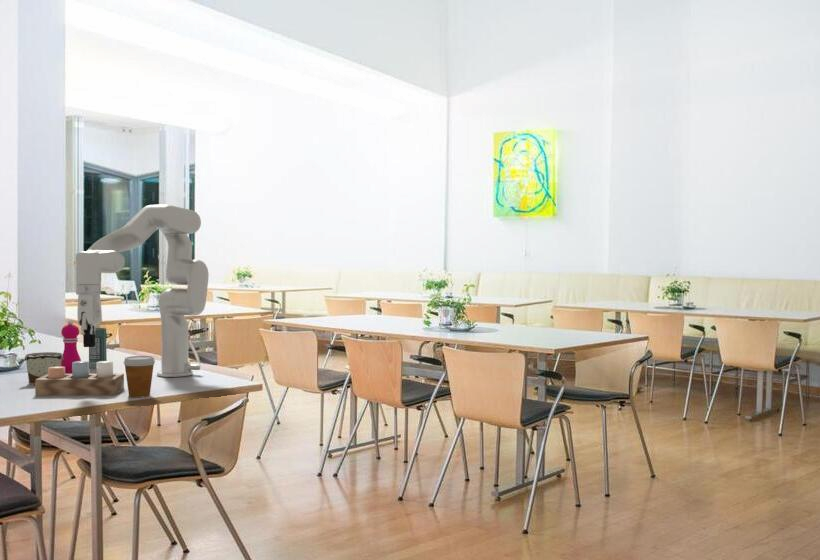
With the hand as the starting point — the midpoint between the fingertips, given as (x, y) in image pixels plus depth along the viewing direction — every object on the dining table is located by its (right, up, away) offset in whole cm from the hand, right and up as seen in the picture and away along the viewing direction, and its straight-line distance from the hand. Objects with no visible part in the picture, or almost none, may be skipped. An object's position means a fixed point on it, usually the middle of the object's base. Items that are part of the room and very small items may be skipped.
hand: (89, 346), depth 265 cm
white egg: (+5, -11, +1) cm, 12 cm away
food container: (-22, -14, +18) cm, 32 cm away
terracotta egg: (-10, -13, -1) cm, 17 cm away
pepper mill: (-20, -13, +34) cm, 41 cm away
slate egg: (-3, -11, 0) cm, 12 cm away
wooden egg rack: (-3, -15, 0) cm, 15 cm away
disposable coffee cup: (+18, -15, -5) cm, 24 cm away
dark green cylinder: (-18, -13, +54) cm, 58 cm away
